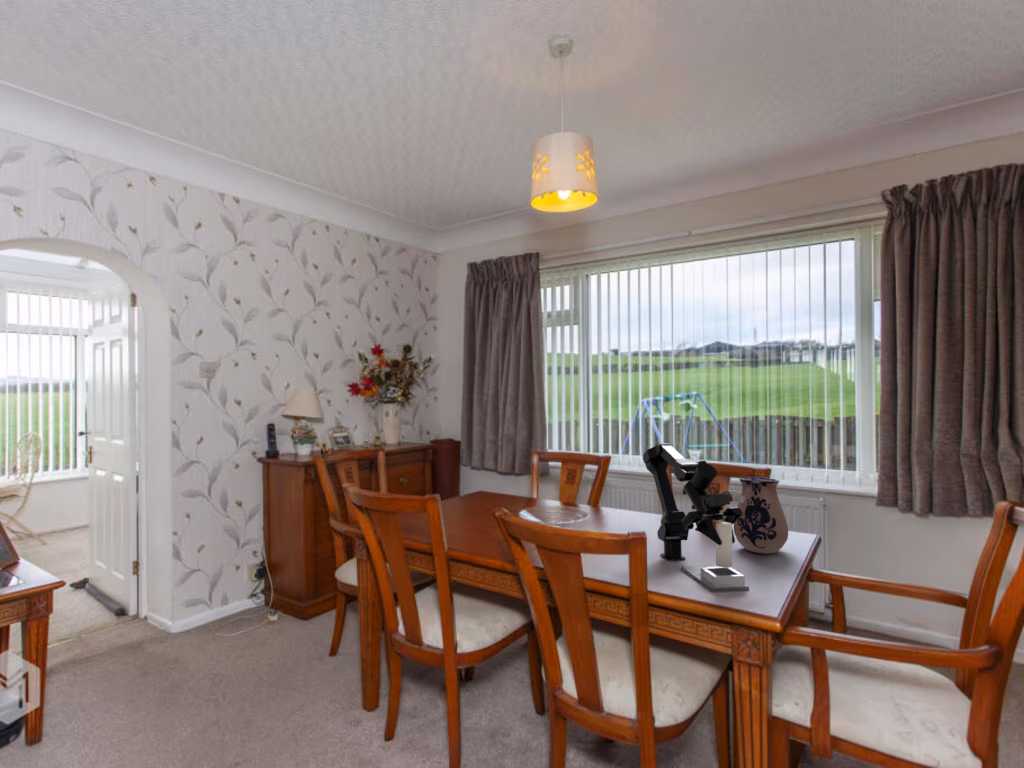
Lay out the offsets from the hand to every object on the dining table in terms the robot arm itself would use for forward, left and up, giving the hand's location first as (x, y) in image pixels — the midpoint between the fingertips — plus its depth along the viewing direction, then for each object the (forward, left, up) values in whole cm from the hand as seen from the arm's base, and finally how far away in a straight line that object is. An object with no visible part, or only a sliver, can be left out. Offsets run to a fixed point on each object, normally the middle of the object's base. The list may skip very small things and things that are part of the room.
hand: (727, 543), depth 157 cm
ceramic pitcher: (-34, +31, -13) cm, 48 cm away
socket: (-7, -1, -12) cm, 14 cm away
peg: (-1, 0, -7) cm, 7 cm away
